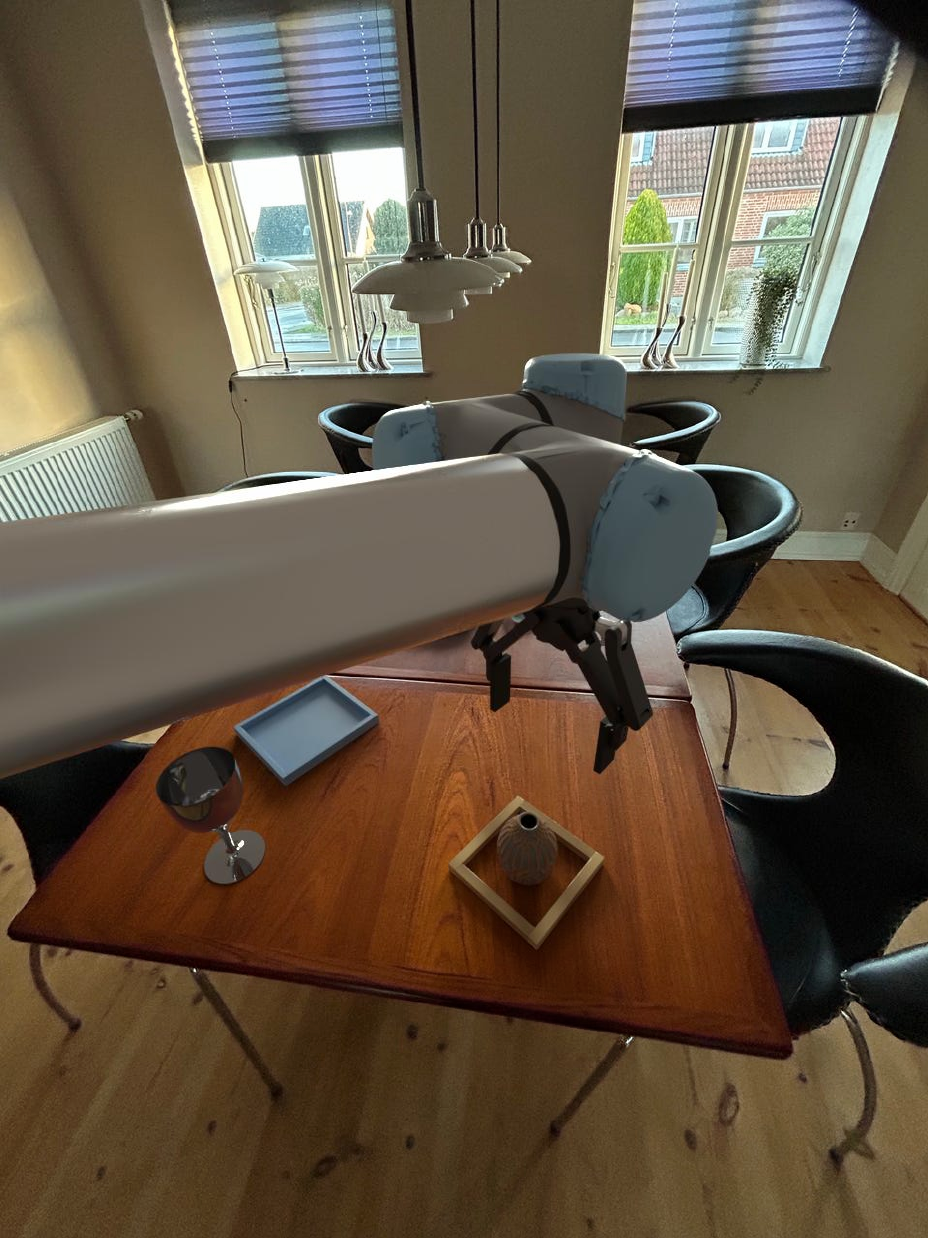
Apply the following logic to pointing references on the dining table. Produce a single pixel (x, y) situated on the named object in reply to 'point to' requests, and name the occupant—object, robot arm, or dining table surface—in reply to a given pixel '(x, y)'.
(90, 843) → the dining table surface
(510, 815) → the oak frame
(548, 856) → the vase
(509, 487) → the robot arm
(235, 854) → the wine glass
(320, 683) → the blue tray
